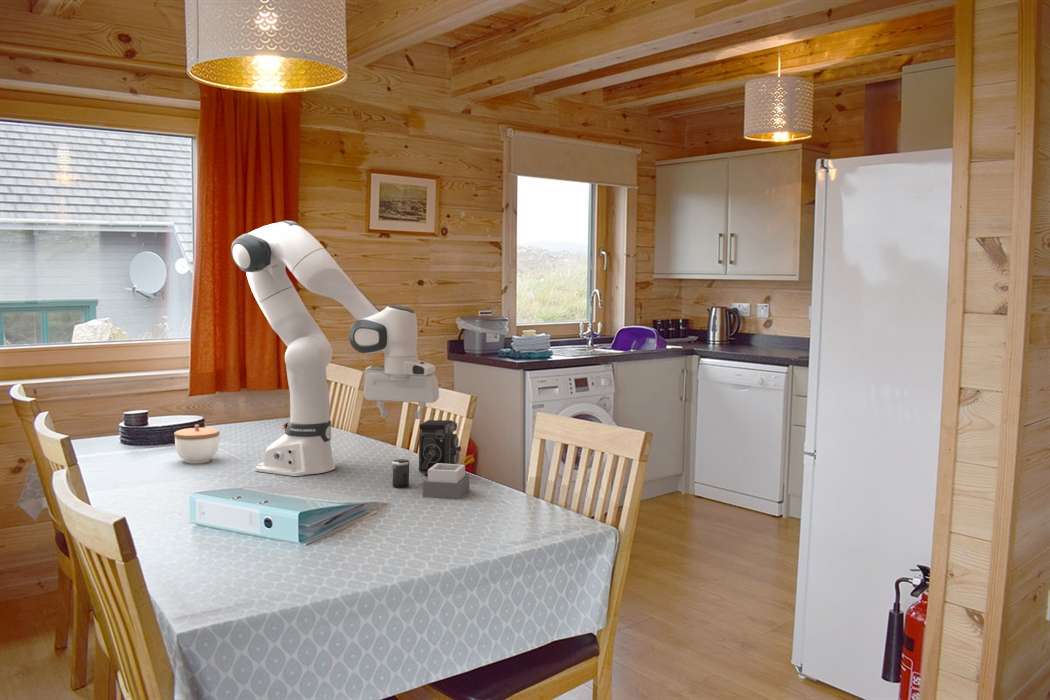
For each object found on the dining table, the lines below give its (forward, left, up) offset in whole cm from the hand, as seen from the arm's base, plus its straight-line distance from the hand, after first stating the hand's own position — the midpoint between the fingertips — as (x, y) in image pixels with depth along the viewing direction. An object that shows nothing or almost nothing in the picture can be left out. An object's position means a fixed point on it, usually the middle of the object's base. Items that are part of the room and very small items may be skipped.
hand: (401, 417), depth 214 cm
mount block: (+14, -4, -19) cm, 24 cm away
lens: (0, 0, -19) cm, 19 cm away
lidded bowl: (-69, +13, -19) cm, 73 cm away
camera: (+6, +17, -19) cm, 26 cm away
